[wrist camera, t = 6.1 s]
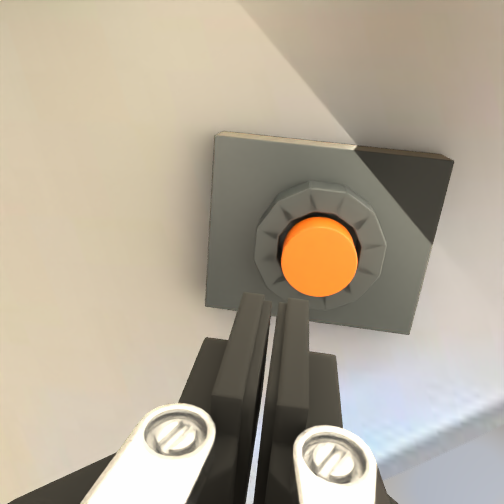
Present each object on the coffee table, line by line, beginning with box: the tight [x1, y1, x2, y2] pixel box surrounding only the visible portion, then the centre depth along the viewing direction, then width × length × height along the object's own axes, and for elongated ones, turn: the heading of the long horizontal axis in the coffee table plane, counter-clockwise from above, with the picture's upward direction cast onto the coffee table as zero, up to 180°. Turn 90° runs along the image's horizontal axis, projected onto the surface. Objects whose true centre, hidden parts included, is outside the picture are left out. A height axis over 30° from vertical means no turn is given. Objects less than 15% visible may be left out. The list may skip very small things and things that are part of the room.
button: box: [281, 217, 357, 297], centre depth 21 cm, size 4×4×2 cm
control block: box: [205, 131, 454, 335], centre depth 24 cm, size 12×10×4 cm
